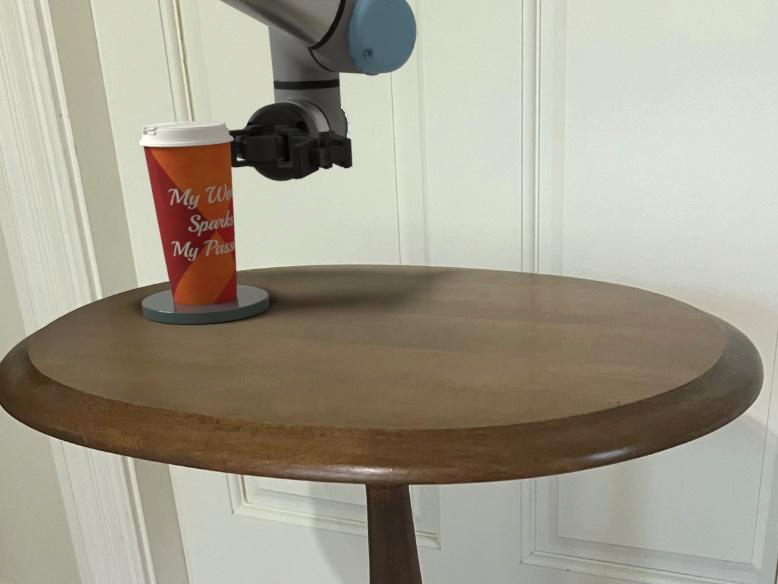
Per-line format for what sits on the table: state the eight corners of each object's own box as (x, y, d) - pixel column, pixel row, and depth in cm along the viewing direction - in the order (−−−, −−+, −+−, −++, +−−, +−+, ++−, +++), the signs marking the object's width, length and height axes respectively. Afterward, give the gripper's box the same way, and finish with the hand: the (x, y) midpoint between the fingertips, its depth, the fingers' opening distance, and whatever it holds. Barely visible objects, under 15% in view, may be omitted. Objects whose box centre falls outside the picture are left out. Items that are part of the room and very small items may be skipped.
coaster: (119, 321, 92) (117, 309, 92) (179, 293, 102) (178, 282, 101) (237, 327, 90) (236, 315, 89) (288, 297, 99) (287, 286, 98)
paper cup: (189, 312, 90) (166, 130, 84) (144, 298, 95) (119, 125, 89) (267, 296, 95) (251, 122, 88) (220, 283, 100) (202, 118, 93)
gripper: (402, 176, 116) (360, 206, 98) (181, 178, 120) (100, 207, 102) (400, 99, 112) (356, 115, 94) (172, 103, 116) (87, 120, 98)
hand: (223, 163), depth 98 cm, fingers open, 13 cm apart
